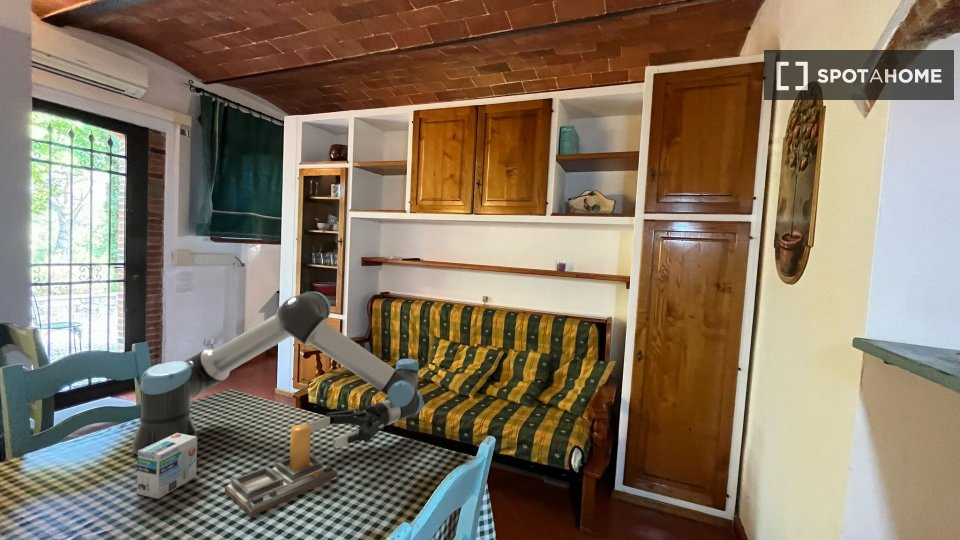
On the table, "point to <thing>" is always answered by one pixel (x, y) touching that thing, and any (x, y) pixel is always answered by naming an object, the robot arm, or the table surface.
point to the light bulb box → (166, 465)
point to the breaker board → (276, 484)
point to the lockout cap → (300, 447)
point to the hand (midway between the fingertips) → (321, 435)
